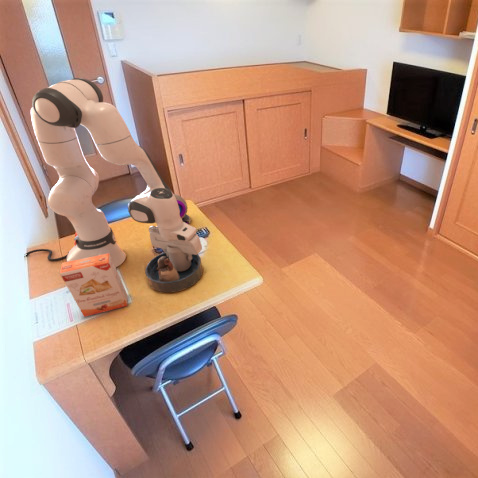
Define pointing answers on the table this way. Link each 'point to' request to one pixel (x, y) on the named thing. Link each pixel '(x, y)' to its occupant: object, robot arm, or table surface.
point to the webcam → (183, 209)
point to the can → (178, 259)
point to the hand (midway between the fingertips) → (179, 257)
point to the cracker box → (94, 284)
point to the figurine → (167, 270)
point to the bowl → (186, 277)
